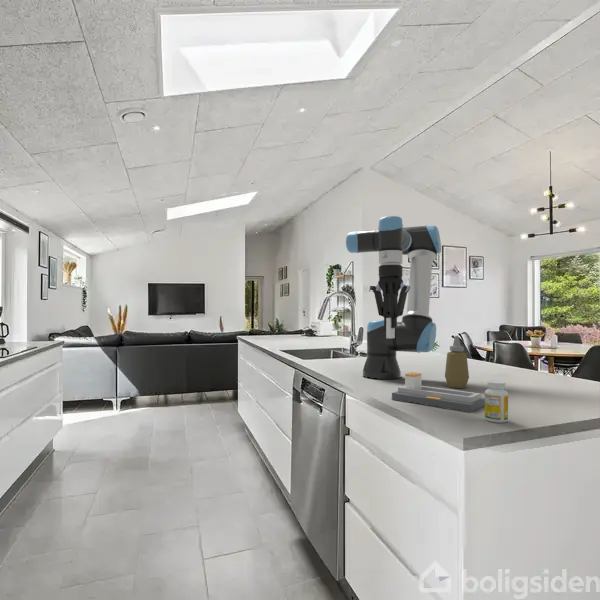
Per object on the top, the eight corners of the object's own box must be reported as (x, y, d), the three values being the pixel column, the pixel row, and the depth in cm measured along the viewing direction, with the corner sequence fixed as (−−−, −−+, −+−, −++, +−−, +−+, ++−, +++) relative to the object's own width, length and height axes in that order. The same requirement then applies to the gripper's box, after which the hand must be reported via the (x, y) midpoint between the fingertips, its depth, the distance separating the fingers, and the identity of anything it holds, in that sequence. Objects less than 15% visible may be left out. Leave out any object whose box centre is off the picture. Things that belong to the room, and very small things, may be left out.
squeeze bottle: (472, 389, 151) (472, 336, 152) (448, 389, 152) (448, 336, 152) (464, 385, 160) (464, 335, 160) (441, 385, 160) (441, 335, 160)
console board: (391, 399, 134) (391, 387, 135) (411, 393, 143) (411, 383, 143) (470, 412, 118) (470, 399, 118) (486, 404, 127) (486, 392, 127)
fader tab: (405, 391, 136) (405, 373, 136) (412, 389, 139) (412, 372, 139) (414, 392, 134) (414, 375, 134) (421, 390, 137) (421, 373, 137)
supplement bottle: (491, 423, 107) (491, 383, 107) (480, 417, 112) (480, 380, 113) (512, 422, 108) (512, 383, 108) (500, 417, 113) (500, 379, 113)
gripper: (366, 265, 144) (366, 337, 143) (402, 262, 135) (402, 339, 135) (379, 266, 149) (379, 336, 149) (414, 264, 141) (414, 338, 140)
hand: (390, 338), depth 142 cm, fingers closed
